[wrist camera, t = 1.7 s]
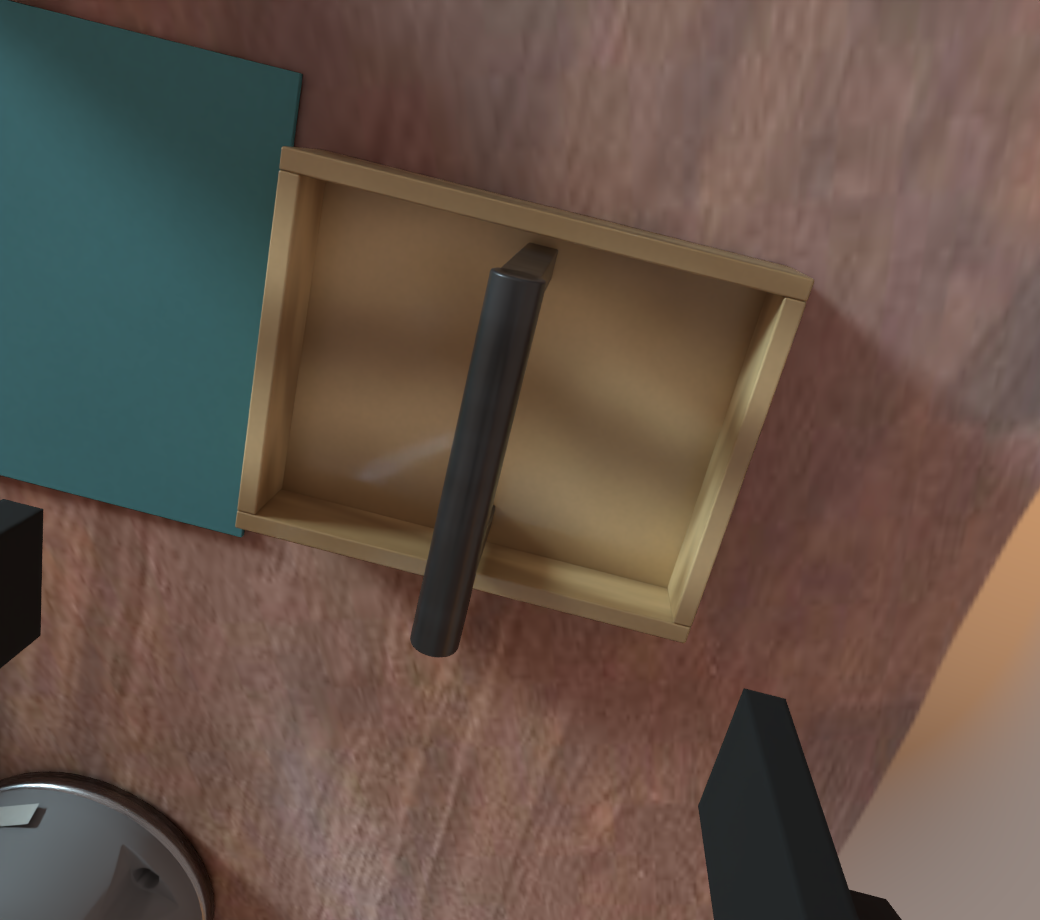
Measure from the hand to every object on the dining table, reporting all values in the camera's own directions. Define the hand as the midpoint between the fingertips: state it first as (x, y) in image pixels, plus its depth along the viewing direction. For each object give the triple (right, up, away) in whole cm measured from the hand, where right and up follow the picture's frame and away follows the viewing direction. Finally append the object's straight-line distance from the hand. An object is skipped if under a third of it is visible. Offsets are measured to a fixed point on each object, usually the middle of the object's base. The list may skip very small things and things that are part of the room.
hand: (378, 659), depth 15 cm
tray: (+2, +7, +20) cm, 21 cm away
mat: (-18, +12, +20) cm, 29 cm away
